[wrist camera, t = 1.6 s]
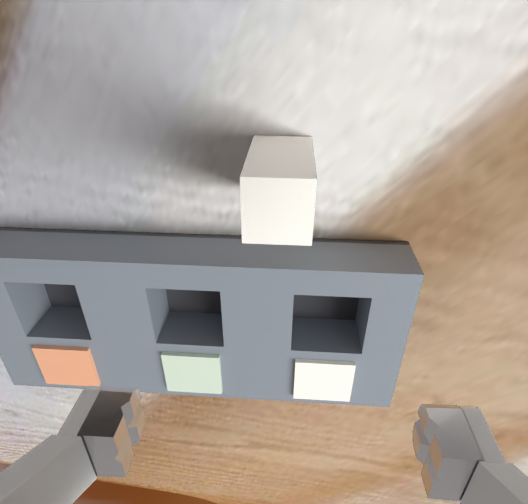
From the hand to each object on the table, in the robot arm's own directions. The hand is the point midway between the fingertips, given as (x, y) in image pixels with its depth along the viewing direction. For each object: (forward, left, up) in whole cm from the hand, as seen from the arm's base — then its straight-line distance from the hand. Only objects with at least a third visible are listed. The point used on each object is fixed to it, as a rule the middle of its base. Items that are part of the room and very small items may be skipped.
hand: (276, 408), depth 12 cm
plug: (-1, 0, -20) cm, 20 cm away
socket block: (+12, -7, -20) cm, 25 cm away
